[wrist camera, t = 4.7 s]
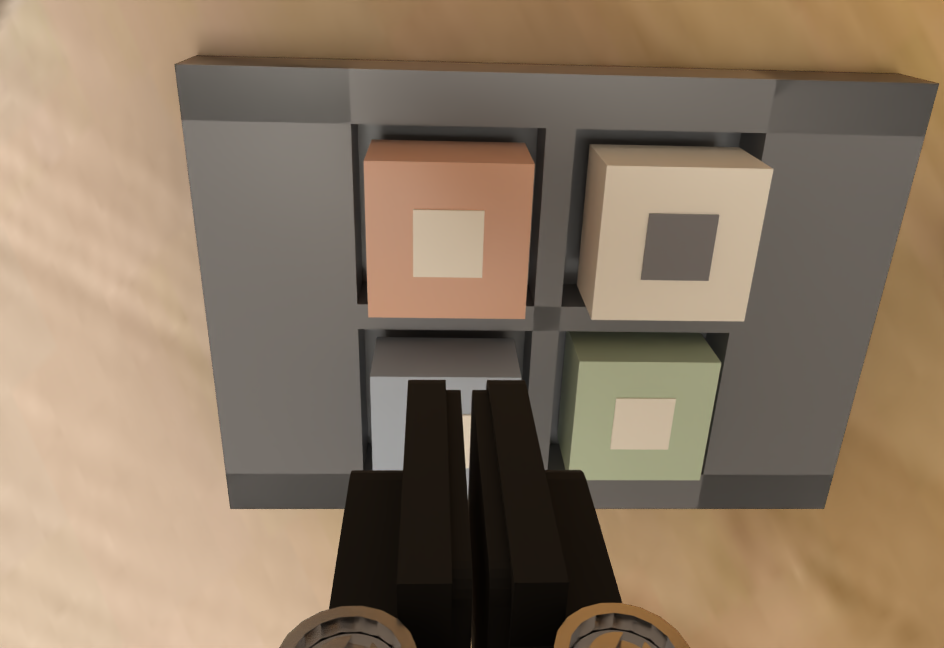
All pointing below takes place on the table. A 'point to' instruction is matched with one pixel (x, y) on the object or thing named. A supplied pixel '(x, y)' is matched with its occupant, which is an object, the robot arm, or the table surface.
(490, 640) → the robot arm
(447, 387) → the key slate
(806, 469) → the keypad frame
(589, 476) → the key sage
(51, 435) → the table surface
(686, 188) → the key ivory
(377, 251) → the key terracotta
